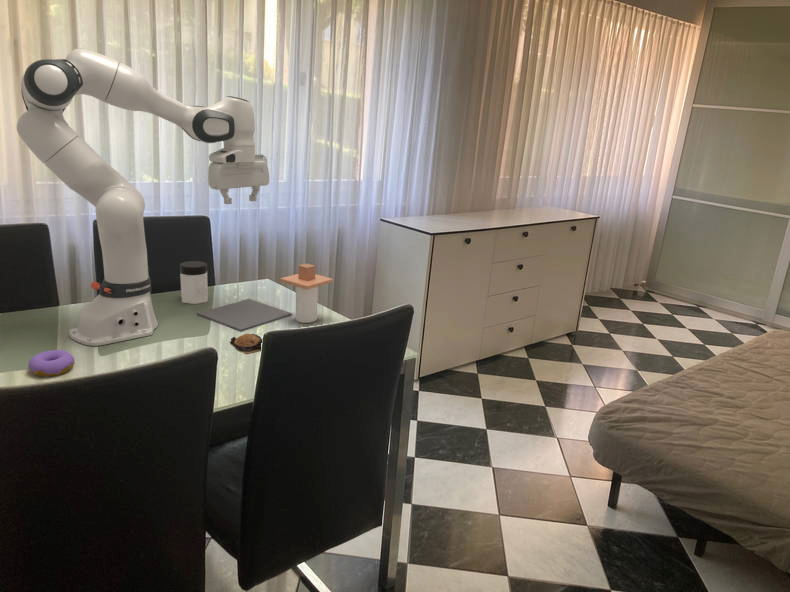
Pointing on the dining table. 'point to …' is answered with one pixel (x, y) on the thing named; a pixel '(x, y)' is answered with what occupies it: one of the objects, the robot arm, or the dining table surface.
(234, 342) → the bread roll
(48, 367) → the donut
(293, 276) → the lid
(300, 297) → the can
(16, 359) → the dining table surface
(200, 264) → the jar
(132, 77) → the robot arm
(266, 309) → the mat
